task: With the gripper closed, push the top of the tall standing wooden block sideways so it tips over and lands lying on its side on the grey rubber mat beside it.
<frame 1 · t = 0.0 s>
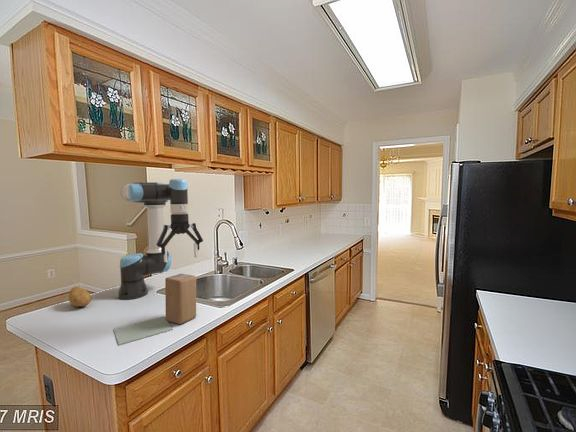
hand: (181, 259, 131), 28 cm above the counter, fingers open, 13 cm apart
potato: (80, 306, 148), on the counter
wooden block: (181, 319, 132), on the counter, touching mat
mat: (143, 329, 122), on the counter
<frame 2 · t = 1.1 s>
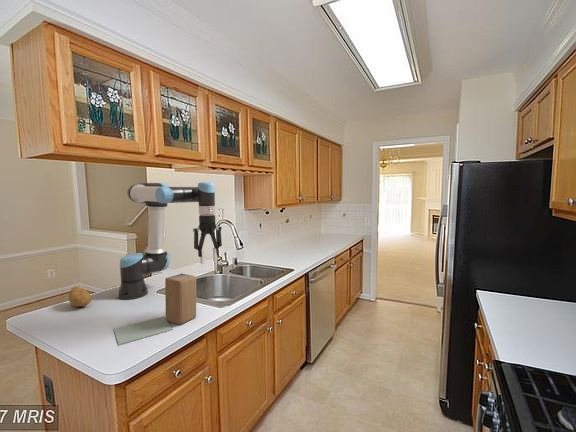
hand: (208, 262, 138), 25 cm above the counter, fingers open, 6 cm apart
nothing on the counter moved.
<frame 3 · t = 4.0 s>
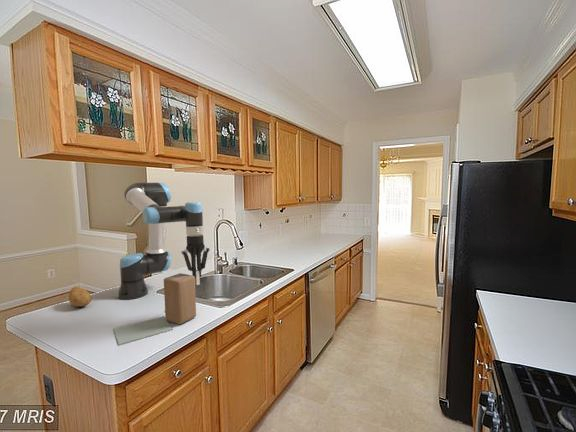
hand: (197, 284, 135), 15 cm above the counter, fingers closed
wooden block: (181, 319, 132), on the counter, touching gripper, mat
everything else where it was.
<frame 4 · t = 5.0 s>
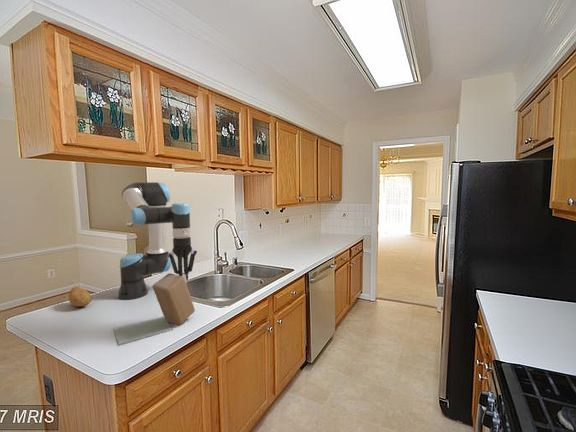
hand: (183, 287, 132), 15 cm above the counter, fingers closed
wooden block: (180, 316, 131), point 2 cm above the counter, touching gripper, mat
everything else where it was.
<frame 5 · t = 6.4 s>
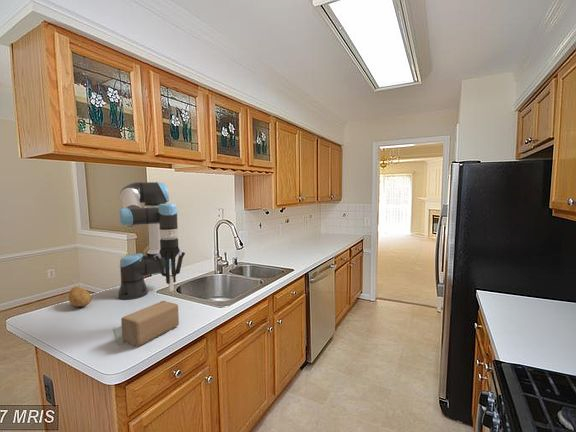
hand: (171, 290, 128), 15 cm above the counter, fingers closed
wooden block: (172, 312, 127), point 5 cm above the counter, touching mat
everything else where it was.
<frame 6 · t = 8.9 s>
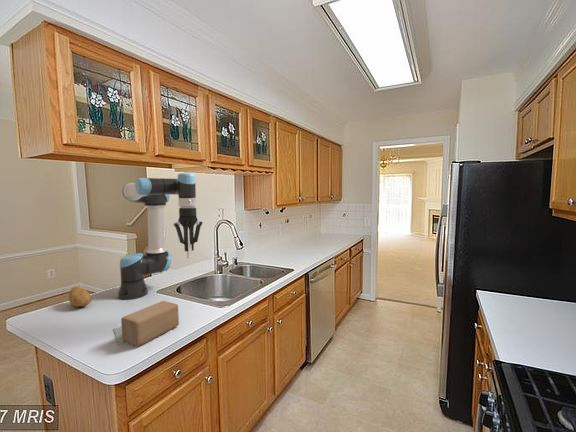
hand: (189, 257, 133), 28 cm above the counter, fingers closed
nothing on the counter moved.
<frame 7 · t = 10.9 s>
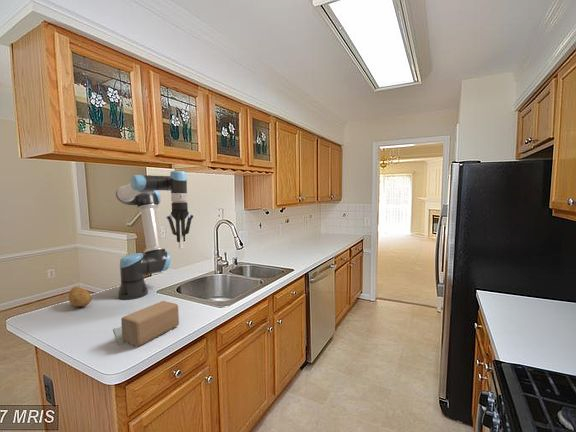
hand: (181, 248, 146), 30 cm above the counter, fingers closed
nothing on the counter moved.
at the end: wooden block tilted 90°; wooden block inside the target area (6.8 cm from its centre), point 5.4 cm above the counter; the gripper is holding nothing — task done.
